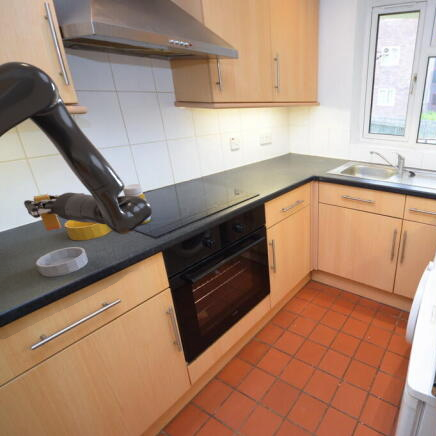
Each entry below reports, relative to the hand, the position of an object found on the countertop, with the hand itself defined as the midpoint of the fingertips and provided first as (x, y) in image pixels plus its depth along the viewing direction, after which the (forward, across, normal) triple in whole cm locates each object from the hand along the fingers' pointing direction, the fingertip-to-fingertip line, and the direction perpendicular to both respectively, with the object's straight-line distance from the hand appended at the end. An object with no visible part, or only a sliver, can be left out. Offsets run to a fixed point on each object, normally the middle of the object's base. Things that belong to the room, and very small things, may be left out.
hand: (36, 201), depth 84 cm
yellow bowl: (+11, -18, +20) cm, 29 cm away
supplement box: (-3, 0, +8) cm, 9 cm away
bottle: (+1, -31, +20) cm, 37 cm away
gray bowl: (-4, +1, +20) cm, 21 cm away
